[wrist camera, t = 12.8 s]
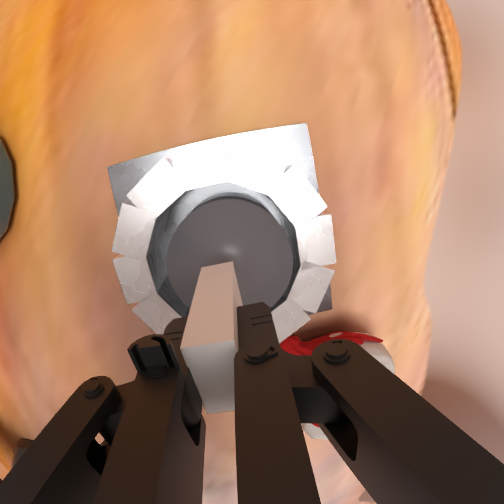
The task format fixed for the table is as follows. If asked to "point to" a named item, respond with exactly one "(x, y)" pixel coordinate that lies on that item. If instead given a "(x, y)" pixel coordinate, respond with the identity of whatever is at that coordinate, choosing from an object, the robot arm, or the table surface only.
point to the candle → (307, 347)
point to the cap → (231, 248)
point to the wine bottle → (6, 189)
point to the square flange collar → (208, 184)
